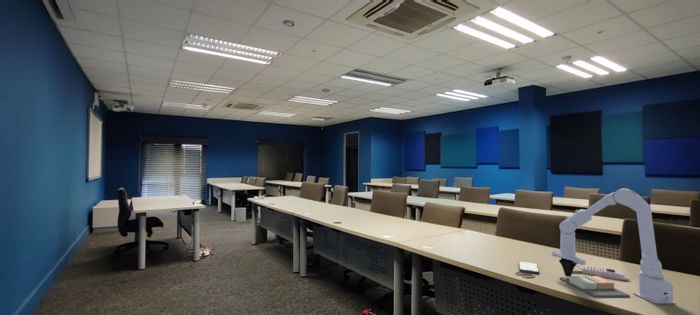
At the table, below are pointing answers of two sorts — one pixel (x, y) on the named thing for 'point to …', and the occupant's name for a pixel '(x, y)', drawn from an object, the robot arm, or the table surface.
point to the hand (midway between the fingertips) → (568, 276)
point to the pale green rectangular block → (582, 282)
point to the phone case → (528, 267)
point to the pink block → (601, 282)
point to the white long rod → (602, 272)
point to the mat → (599, 291)
